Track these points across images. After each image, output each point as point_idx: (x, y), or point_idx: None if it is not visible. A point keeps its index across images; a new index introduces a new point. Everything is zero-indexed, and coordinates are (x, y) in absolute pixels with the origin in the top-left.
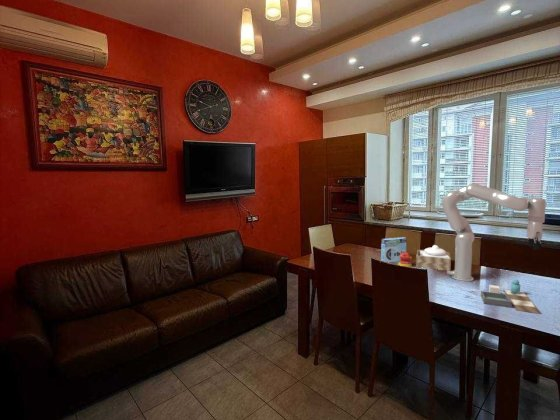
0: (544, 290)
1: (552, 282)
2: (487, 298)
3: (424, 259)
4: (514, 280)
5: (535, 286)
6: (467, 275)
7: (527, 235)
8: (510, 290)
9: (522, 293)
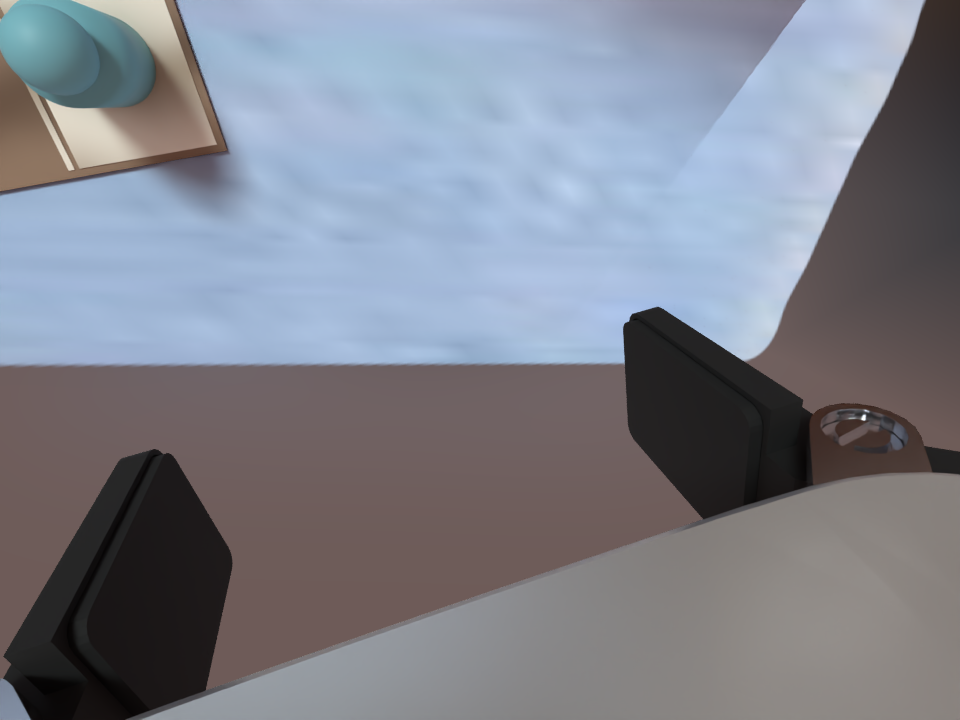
0: (421, 301)
1: None
2: None
3: None
4: (9, 25)
5: (502, 245)
6: None
7: (805, 581)
8: (178, 15)
9: (156, 133)
